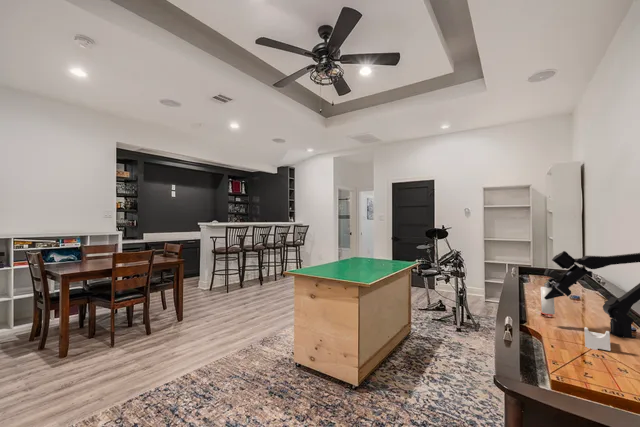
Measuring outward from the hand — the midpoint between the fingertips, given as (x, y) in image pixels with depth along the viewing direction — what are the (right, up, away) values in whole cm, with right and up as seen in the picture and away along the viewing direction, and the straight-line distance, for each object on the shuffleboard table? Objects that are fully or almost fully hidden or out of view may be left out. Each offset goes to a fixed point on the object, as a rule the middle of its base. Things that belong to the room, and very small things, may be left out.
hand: (543, 297), depth 142 cm
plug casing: (+1, -7, -1) cm, 7 cm away
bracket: (+3, -13, -24) cm, 28 cm away
